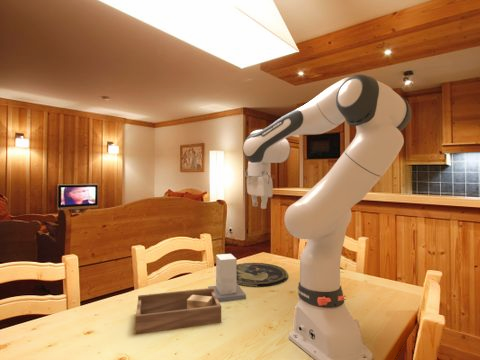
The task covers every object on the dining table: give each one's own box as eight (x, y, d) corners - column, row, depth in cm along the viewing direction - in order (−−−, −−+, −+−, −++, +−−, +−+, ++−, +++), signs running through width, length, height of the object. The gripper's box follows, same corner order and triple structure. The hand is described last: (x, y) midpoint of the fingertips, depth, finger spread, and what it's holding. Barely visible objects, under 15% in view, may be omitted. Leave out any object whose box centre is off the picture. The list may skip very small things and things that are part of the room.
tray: (221, 322, 90) (221, 302, 90) (135, 334, 83) (135, 313, 83) (213, 304, 102) (213, 287, 102) (138, 313, 96) (138, 295, 95)
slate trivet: (245, 298, 107) (245, 294, 107) (213, 302, 104) (213, 298, 104) (237, 287, 119) (237, 283, 119) (208, 290, 116) (208, 286, 116)
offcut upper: (212, 305, 96) (212, 296, 96) (207, 311, 92) (207, 302, 92) (192, 303, 98) (192, 294, 98) (186, 309, 93) (187, 299, 93)
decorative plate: (241, 259, 154) (296, 267, 140) (241, 263, 154) (296, 271, 140) (209, 277, 127) (274, 288, 114) (209, 281, 127) (274, 293, 114)
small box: (236, 293, 109) (236, 258, 109) (220, 295, 107) (220, 260, 107) (231, 285, 116) (231, 253, 116) (215, 287, 115) (215, 254, 114)
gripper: (277, 171, 105) (277, 210, 105) (258, 172, 124) (258, 204, 124) (260, 171, 103) (260, 210, 103) (244, 172, 123) (244, 205, 123)
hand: (259, 207), depth 114 cm, fingers open, 8 cm apart
